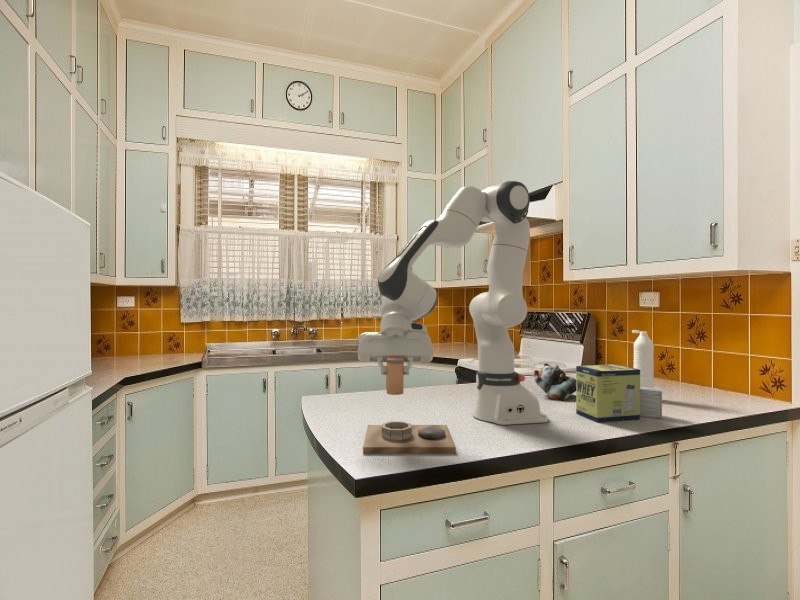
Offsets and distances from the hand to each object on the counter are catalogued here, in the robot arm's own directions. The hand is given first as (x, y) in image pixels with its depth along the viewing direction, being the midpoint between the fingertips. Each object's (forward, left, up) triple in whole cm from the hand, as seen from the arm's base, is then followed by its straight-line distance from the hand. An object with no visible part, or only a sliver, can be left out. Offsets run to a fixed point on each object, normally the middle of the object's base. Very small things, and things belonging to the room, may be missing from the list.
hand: (395, 373), depth 111 cm
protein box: (-66, -23, -18) cm, 72 cm away
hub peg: (0, -1, -5) cm, 5 cm away
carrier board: (-3, 0, -17) cm, 18 cm away
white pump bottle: (-91, -48, -18) cm, 105 cm away
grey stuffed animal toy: (-61, -50, -18) cm, 81 cm away
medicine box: (-79, -24, -18) cm, 85 cm away
